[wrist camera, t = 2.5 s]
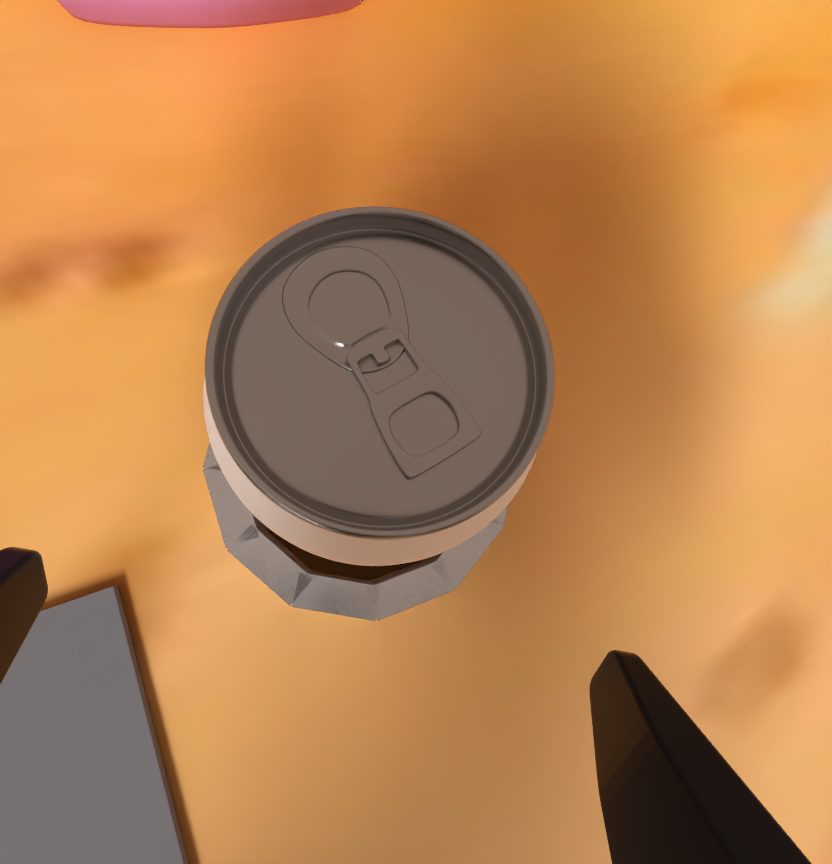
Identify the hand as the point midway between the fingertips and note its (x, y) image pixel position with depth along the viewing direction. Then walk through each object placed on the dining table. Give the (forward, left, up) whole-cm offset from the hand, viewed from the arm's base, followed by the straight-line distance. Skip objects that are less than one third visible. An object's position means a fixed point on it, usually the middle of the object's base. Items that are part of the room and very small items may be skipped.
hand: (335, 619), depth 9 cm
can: (+4, -2, -11) cm, 12 cm away
